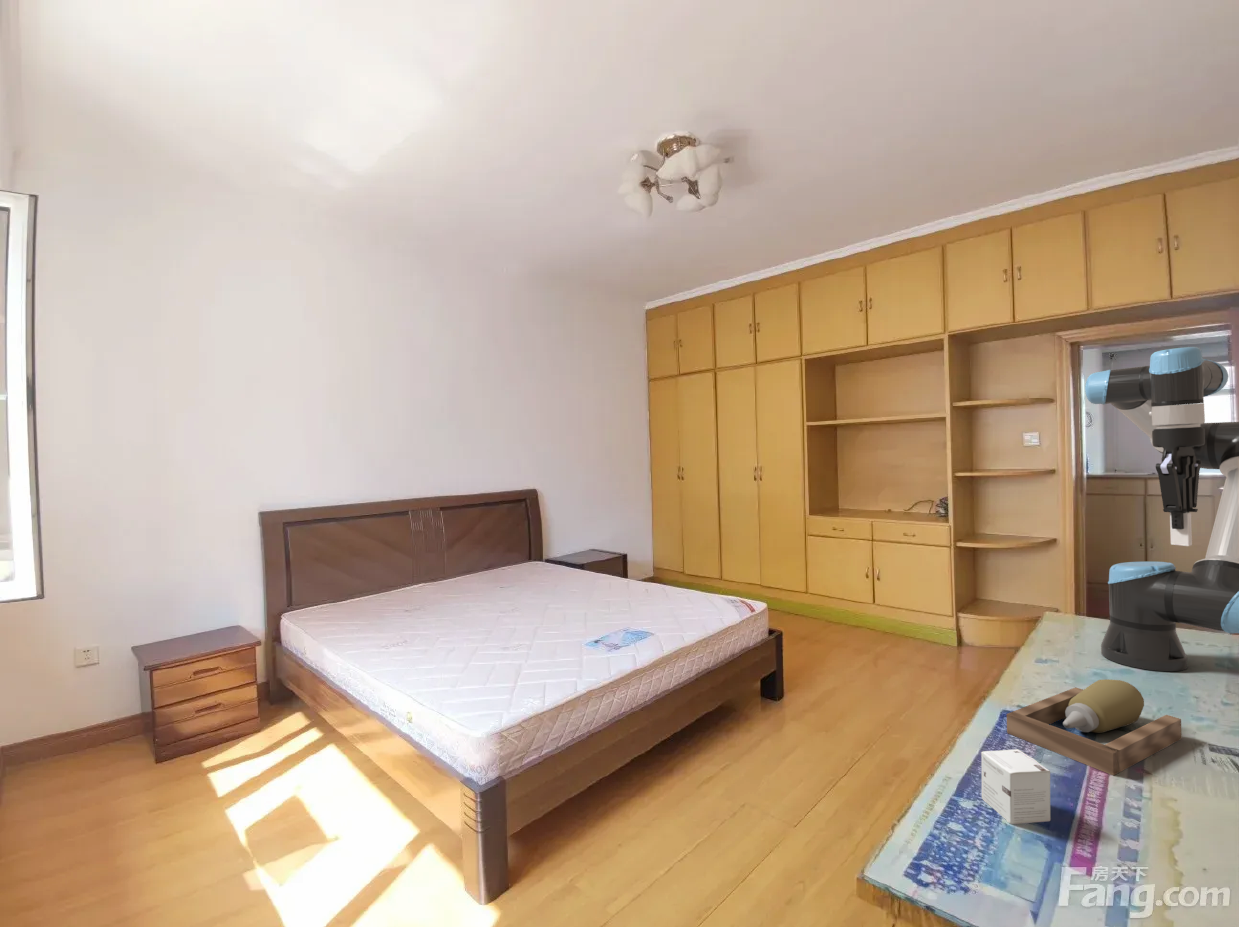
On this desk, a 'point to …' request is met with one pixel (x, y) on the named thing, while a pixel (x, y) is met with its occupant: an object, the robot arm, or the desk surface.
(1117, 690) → the squeeze bottle
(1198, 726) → the desk surface
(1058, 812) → the desk surface
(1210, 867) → the desk surface
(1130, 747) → the bottle rest
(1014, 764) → the skincare box
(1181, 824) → the desk surface
